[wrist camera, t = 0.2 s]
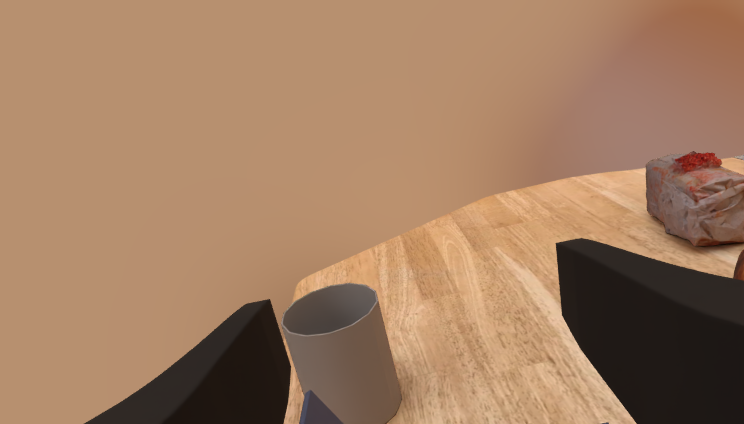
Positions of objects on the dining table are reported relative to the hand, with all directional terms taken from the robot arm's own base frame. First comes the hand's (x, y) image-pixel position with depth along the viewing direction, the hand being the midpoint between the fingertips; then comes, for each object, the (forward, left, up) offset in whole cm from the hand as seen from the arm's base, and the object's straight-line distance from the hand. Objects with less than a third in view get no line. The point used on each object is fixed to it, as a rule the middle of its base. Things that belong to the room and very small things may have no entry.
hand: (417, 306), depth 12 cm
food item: (+46, -35, -23) cm, 62 cm away
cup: (+26, +8, -23) cm, 35 cm away
